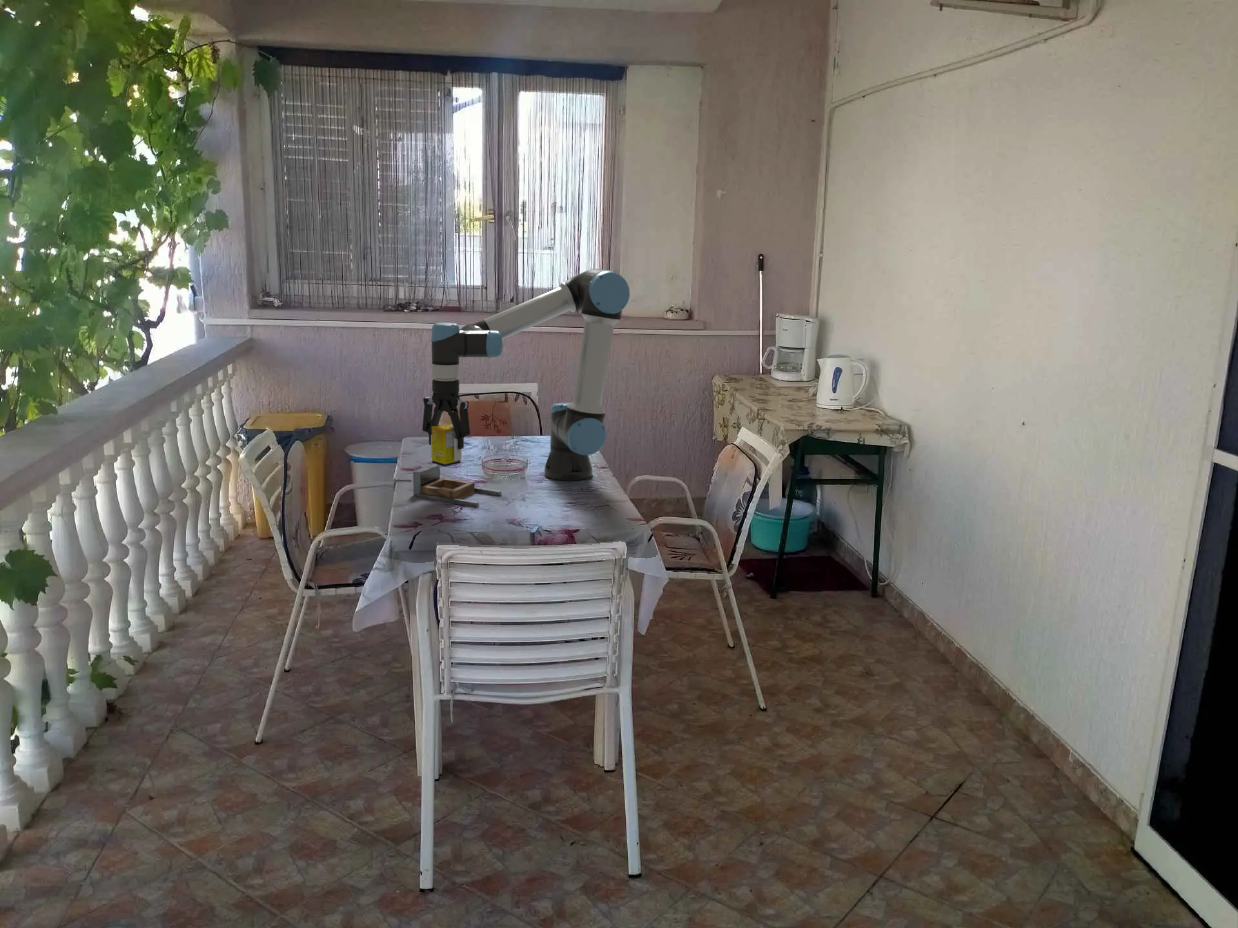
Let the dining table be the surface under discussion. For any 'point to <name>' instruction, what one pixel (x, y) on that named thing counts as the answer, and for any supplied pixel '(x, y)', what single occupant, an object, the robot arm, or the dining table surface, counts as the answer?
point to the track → (432, 474)
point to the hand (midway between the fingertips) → (446, 457)
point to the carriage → (449, 488)
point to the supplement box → (443, 445)
